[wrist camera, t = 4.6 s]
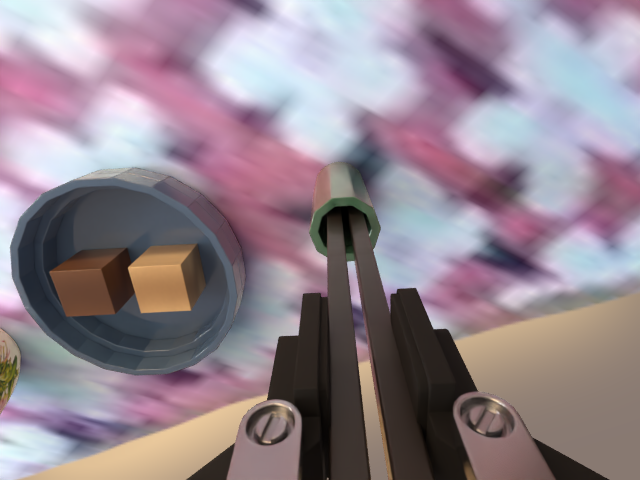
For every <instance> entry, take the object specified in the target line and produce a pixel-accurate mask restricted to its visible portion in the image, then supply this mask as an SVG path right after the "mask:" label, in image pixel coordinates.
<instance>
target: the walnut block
mask: <svg viewBox="0 0 640 480" xmlns="http://www.w3.org/2000/svg"><path fill="white" fill-rule="evenodd" d="M131 264H132V263H131V260H130V256H129V253H128V249H127V248H112V249H94V250H81V251H79V252H78V253H76V254H75V255H73V256H72V257H70V258H69V259H67V260H66V261H64V262H63V263H62V264H60V265H59V266H57V267H56V268H54V269H53V270H51V271H50V275H51V277H52V280H53V283H54V285H55V288H56V291H57V293H58V296H59V299H60V301H61V304H62V307H63V309H64V312H65V314H66V317H71V316H91V315H111V314H116V313H117V312H118V311H119V310H120V309H121V308H122V307H123V306H124V305H125V303H126V302H127V301H128V300H129V299H130V298H131V297H132V296H133V295H134V294H135V290H134V287H133V284H132V280H131V277H130V273H129V270H128V267H129V266H130V265H131Z"/></svg>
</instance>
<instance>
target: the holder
mask: <svg viewBox="0 0 640 480" xmlns="http://www.w3.org/2000/svg"><path fill="white" fill-rule="evenodd" d="M337 206H341V214H342V223H343V232H344V241H345V250H346V259H347V261H355V260H354V253H353V247H352V240H351V234H350V227H349V221H348V215H347V208H346V206H354V207H355V208H357V209H359V210H360V211H362V212H363V215H364V219H365V223H366V226H367V230H368V234H369V237H370V241H371V245H372V248H373V249H374V247H375V245H376V242H377V239H378V236H379V233H380V230H381V227H380V224H379V221H378V218H377V216H376V213H375V210H374V207H373V205H372V202H371V200H370V197H369V194H368V192H367V189H366V187H365V184H364V181H363V179H362V176H361V174H360V172H359V171H358V170H357V169H356V168H355V167H354V166H352V165H350V164H348V163H345V162H334V163H331V164H329V165H327V166H325V167H324V168H323V169H322V170H321V171H320V172H319V173H318V175H317V178H316V182H315V187H314V193H313V202H312V210H311V219H310V228H309V234H310V236H311V238H312V241H313V243H314V245H315V248H316V250H317V251H318V252H319V253H321V254H323V255H324V256H326V257H327V213H328V212H329V211H330V210H332V209H333V208H334V207H337Z"/></svg>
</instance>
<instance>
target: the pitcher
mask: <svg viewBox="0 0 640 480" xmlns="http://www.w3.org/2000/svg"><path fill="white" fill-rule="evenodd" d="M20 361H21V354H20V350H19V348H18V346H17V344H16V343H15V341H14V340H13V339H12V338H11V337H10V336H9V335H8V334H7V333H6V332H5V331H3V330H2V329H0V414H1V412H2V411H3V409H4V407H5V406H6V404H7V402H8V401H9V399H10V397H11V395H12V393H13V391H14V388H15V386H16V384H17V380H18V377H19V373H20Z"/></svg>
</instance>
